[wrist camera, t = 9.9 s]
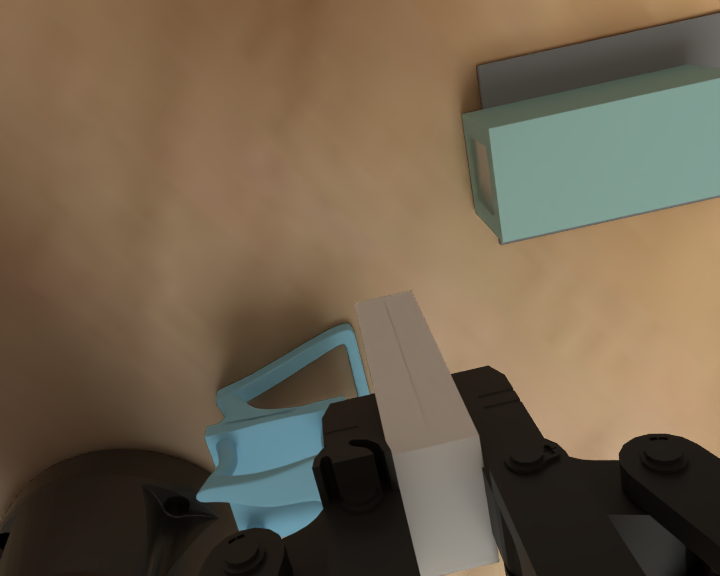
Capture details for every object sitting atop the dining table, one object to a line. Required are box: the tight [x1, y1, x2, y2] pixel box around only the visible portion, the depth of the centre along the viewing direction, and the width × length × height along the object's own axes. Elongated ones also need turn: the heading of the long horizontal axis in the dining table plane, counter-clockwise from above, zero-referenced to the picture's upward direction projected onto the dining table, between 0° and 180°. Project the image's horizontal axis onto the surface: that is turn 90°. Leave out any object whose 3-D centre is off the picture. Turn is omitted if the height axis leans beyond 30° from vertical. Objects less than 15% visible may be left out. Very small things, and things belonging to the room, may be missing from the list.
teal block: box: [462, 65, 720, 243], centre depth 30 cm, size 5×5×11 cm
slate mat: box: [476, 12, 720, 245], centre depth 33 cm, size 13×9×1 cm
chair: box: [196, 323, 370, 538], centre depth 31 cm, size 8×8×12 cm
